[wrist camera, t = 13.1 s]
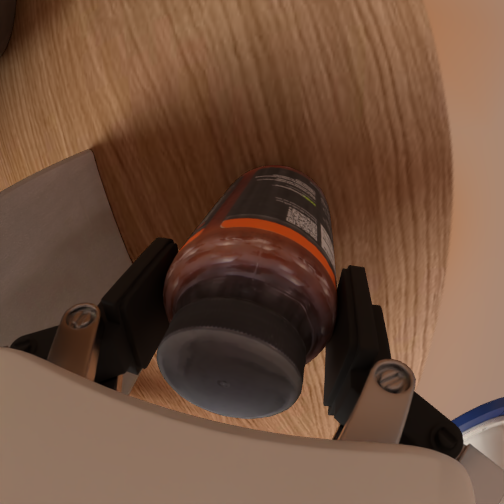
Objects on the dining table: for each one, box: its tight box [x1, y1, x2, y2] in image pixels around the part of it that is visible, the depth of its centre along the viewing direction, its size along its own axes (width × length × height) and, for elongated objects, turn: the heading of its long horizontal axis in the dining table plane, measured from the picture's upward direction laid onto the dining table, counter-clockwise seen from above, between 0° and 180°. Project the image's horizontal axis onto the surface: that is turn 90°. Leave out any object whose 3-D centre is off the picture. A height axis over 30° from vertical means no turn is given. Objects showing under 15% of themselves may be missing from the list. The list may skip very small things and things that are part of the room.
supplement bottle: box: [157, 165, 338, 419], centre depth 12 cm, size 6×6×11 cm
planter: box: [0, 149, 143, 395], centre depth 14 cm, size 16×8×19 cm, turn 11°
